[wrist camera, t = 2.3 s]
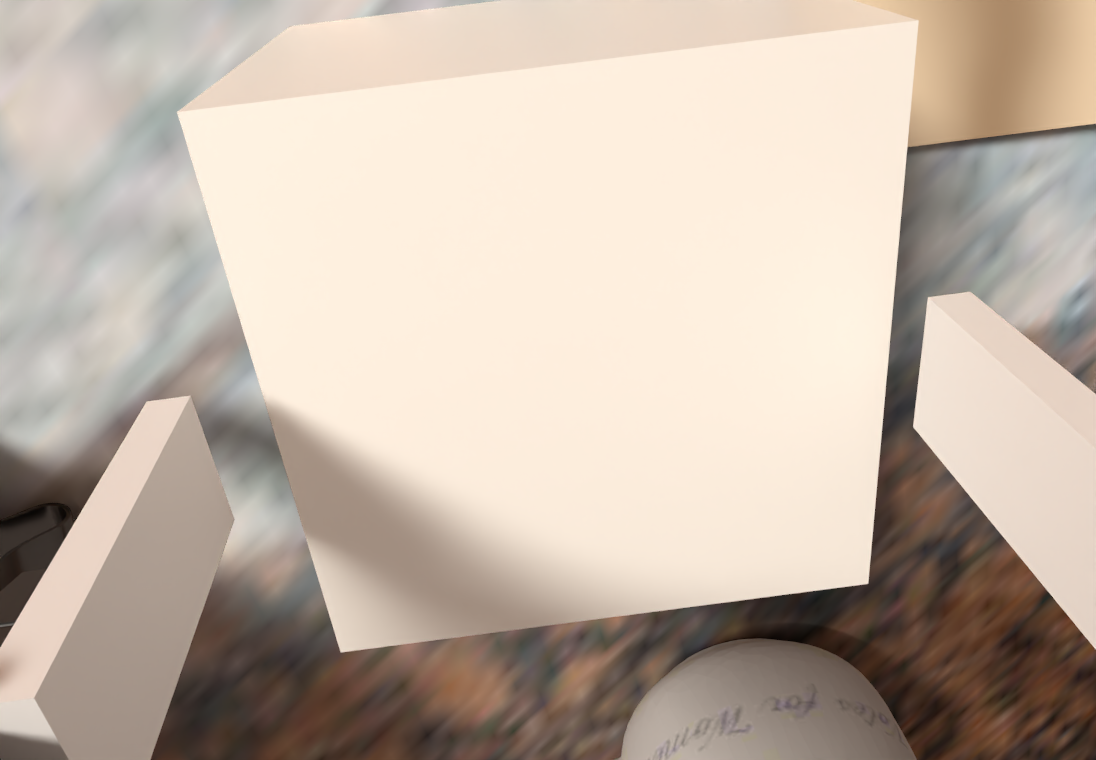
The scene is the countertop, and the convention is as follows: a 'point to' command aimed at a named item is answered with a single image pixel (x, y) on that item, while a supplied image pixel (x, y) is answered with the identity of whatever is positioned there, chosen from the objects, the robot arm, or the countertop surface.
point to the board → (999, 66)
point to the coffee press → (32, 539)
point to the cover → (568, 299)
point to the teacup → (764, 708)
